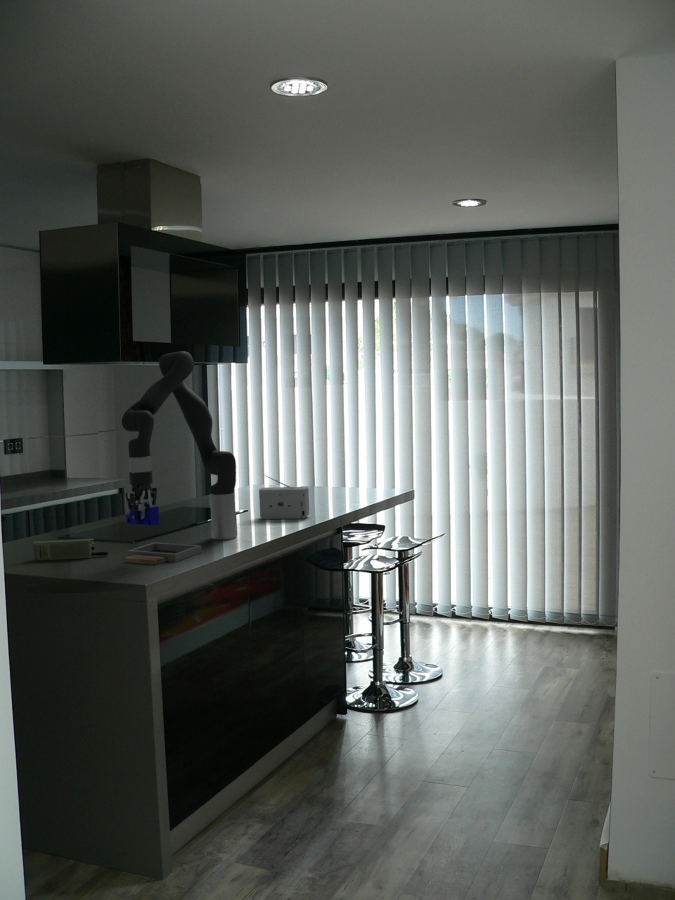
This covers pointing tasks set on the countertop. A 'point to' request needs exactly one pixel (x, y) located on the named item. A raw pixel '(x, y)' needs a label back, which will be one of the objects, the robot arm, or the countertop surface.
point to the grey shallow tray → (182, 550)
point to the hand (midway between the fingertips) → (143, 520)
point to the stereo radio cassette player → (284, 502)
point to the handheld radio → (65, 549)
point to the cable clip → (149, 520)
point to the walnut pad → (145, 559)
